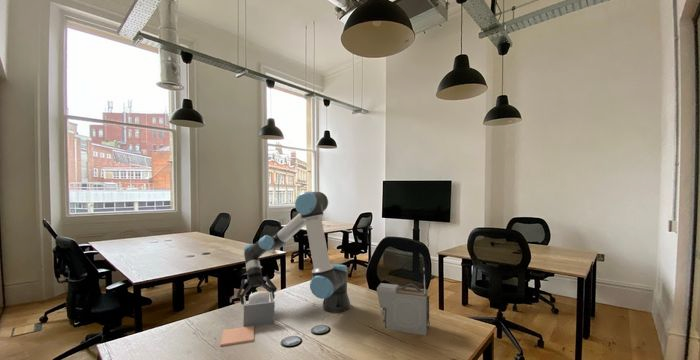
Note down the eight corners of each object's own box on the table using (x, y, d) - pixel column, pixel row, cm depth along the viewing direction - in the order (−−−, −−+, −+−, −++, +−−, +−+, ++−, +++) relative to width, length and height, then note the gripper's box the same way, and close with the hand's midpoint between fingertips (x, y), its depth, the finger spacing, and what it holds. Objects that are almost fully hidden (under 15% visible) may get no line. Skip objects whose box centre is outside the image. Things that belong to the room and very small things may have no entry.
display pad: (253, 327, 134) (253, 325, 134) (253, 341, 122) (253, 339, 122) (223, 331, 130) (223, 329, 130) (220, 346, 118) (220, 344, 118)
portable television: (381, 318, 145) (381, 258, 146) (430, 325, 137) (429, 262, 138) (375, 328, 133) (375, 263, 135) (428, 337, 125) (427, 268, 127)
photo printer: (267, 312, 151) (267, 288, 151) (269, 315, 147) (270, 291, 148) (247, 317, 145) (247, 292, 146) (249, 320, 142) (249, 294, 142)
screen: (274, 322, 140) (274, 301, 140) (274, 323, 138) (274, 302, 139) (243, 326, 135) (243, 304, 136) (243, 327, 134) (243, 305, 134)
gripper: (274, 270, 167) (282, 306, 153) (228, 277, 154) (232, 315, 141) (277, 263, 163) (285, 299, 149) (230, 269, 150) (234, 308, 136)
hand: (259, 307), depth 145 cm, fingers open, 13 cm apart
